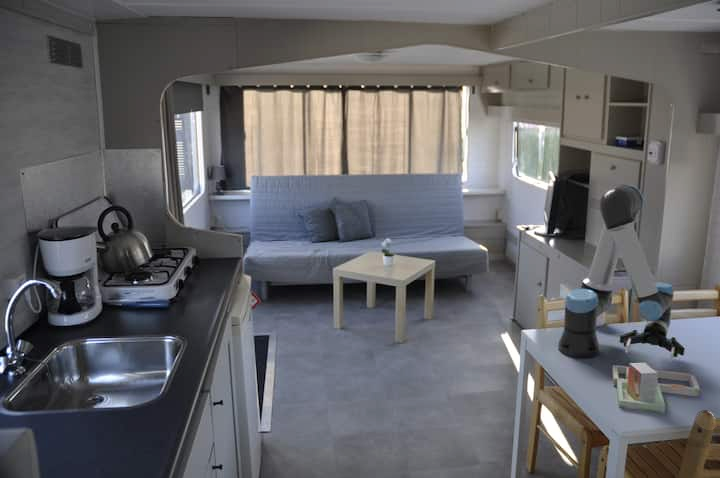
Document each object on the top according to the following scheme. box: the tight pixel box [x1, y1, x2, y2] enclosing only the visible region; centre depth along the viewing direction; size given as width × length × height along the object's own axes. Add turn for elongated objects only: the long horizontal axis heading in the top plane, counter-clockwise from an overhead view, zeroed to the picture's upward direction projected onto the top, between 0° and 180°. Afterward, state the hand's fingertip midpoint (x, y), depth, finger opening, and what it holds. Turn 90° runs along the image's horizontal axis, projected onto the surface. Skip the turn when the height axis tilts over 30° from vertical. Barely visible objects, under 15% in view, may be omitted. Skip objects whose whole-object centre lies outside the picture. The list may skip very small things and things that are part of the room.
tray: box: [616, 380, 666, 415], centre depth 196 cm, size 13×15×2 cm
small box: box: [627, 362, 659, 403], centre depth 195 cm, size 8×6×10 cm
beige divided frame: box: [611, 364, 701, 398], centre depth 207 cm, size 26×12×3 cm, turn 70°
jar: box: [596, 310, 607, 327], centre depth 262 cm, size 9×8×12 cm
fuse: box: [624, 366, 629, 379], centre depth 209 cm, size 5×7×4 cm, turn 160°
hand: (648, 353), depth 202 cm, fingers open, 13 cm apart
